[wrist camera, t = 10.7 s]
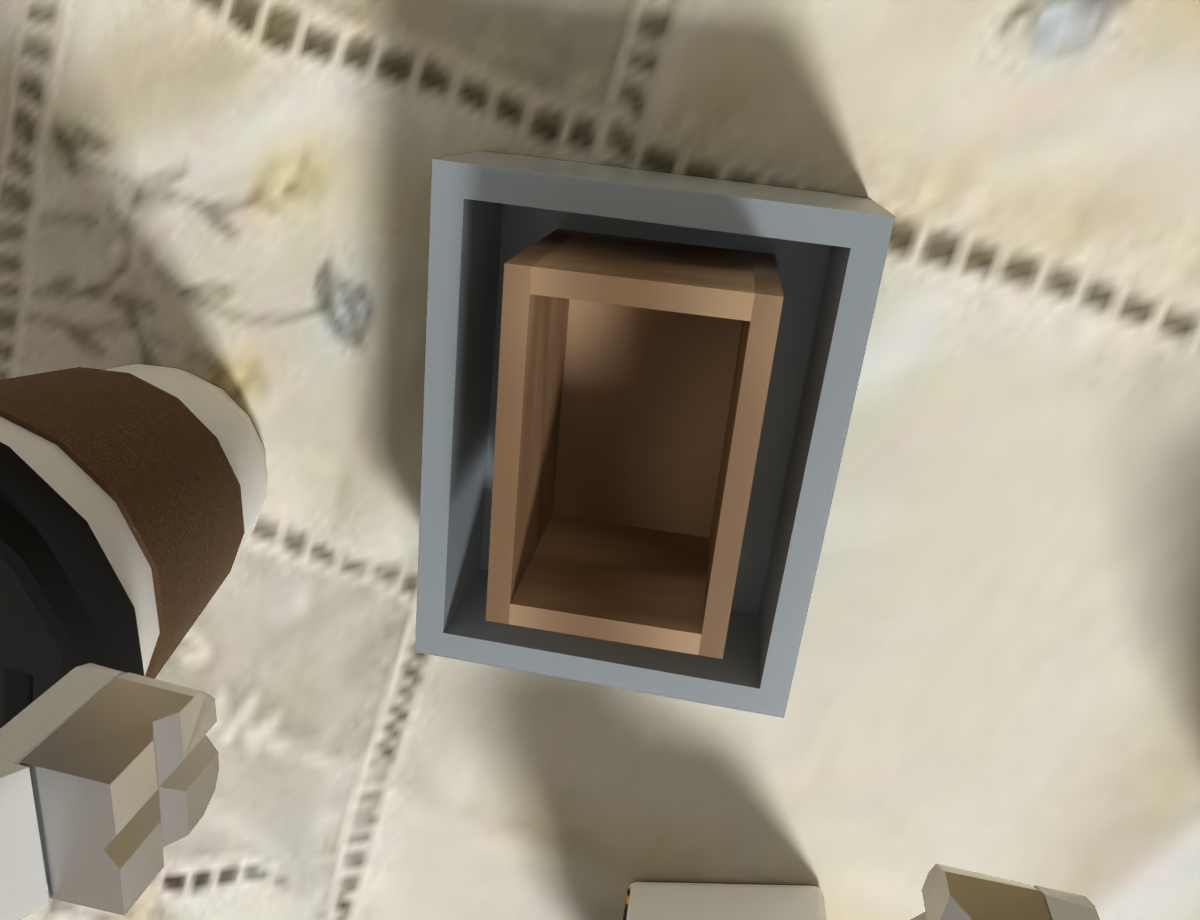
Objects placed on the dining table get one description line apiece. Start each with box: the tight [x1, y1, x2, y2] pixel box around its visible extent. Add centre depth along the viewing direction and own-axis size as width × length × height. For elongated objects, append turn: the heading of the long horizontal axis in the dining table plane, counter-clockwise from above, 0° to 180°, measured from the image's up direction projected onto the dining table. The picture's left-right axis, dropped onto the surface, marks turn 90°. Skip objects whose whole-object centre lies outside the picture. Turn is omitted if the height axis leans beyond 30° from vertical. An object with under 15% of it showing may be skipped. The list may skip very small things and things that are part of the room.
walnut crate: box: [486, 229, 784, 659], centre depth 24 cm, size 6×9×6 cm, turn 175°
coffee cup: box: [0, 364, 267, 729], centre depth 25 cm, size 11×11×12 cm
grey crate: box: [415, 151, 895, 718], centre depth 25 cm, size 11×14×4 cm
